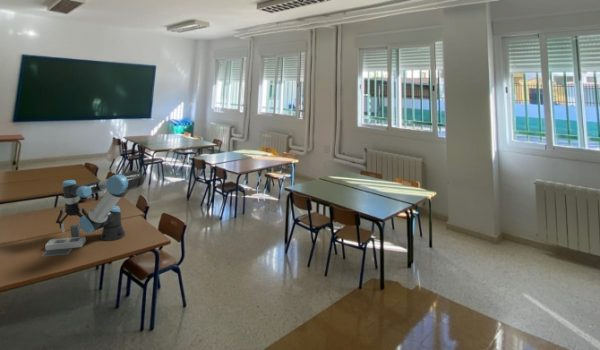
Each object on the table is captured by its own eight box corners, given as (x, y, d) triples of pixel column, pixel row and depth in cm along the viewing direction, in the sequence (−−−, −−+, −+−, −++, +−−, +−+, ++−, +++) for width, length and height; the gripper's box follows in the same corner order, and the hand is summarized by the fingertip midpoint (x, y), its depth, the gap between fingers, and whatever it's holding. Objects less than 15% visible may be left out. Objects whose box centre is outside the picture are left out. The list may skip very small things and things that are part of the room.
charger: (81, 237, 223) (79, 224, 220) (79, 239, 219) (77, 226, 217) (74, 237, 221) (72, 224, 219) (72, 240, 217) (70, 227, 215)
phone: (46, 252, 201) (46, 250, 201) (72, 250, 206) (72, 248, 206) (41, 257, 195) (41, 256, 195) (68, 255, 199) (68, 253, 199)
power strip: (85, 241, 217) (85, 235, 216) (81, 246, 209) (81, 241, 208) (51, 244, 211) (50, 238, 210) (45, 250, 203) (44, 244, 202)
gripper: (94, 199, 221) (97, 227, 226) (51, 201, 213) (55, 230, 218) (91, 203, 214) (94, 231, 220) (47, 205, 206) (51, 235, 211)
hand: (75, 231), depth 219 cm, fingers open, 13 cm apart
